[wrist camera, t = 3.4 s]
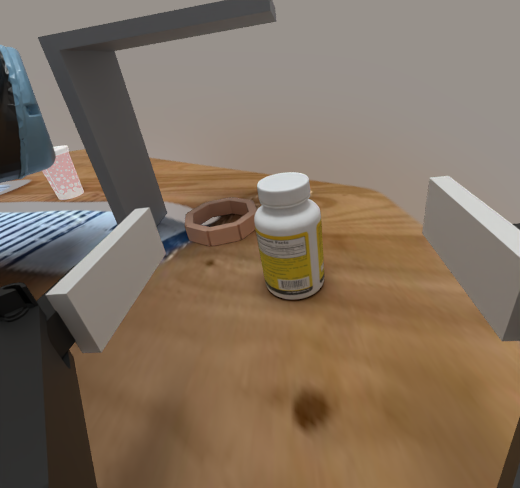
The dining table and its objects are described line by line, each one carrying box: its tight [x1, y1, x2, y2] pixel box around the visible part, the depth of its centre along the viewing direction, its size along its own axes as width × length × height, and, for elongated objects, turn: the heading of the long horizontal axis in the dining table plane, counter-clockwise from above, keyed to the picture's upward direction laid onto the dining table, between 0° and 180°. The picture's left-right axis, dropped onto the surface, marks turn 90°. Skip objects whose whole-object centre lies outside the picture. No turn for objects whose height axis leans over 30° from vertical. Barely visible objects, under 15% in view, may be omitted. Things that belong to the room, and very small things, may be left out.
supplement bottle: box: [254, 172, 324, 300], centre depth 26 cm, size 5×5×10 cm
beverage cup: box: [42, 146, 84, 200], centre depth 58 cm, size 6×6×14 cm
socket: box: [185, 197, 257, 246], centre depth 40 cm, size 9×9×2 cm
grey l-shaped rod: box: [38, 0, 276, 227], centre depth 35 cm, size 10×20×22 cm, turn 84°
